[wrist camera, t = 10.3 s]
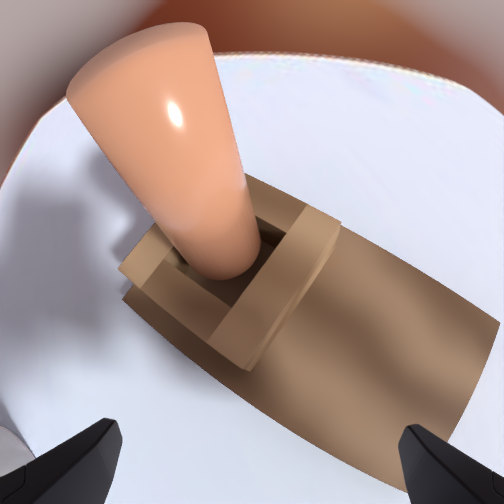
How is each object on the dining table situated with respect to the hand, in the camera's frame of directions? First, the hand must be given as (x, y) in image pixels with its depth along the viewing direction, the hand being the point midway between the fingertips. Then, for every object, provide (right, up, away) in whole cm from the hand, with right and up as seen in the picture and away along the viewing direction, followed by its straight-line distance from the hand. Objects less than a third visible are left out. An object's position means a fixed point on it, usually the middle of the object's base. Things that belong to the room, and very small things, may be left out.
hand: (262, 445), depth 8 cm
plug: (-2, +6, +8) cm, 11 cm away
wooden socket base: (+4, +1, +11) cm, 11 cm away
